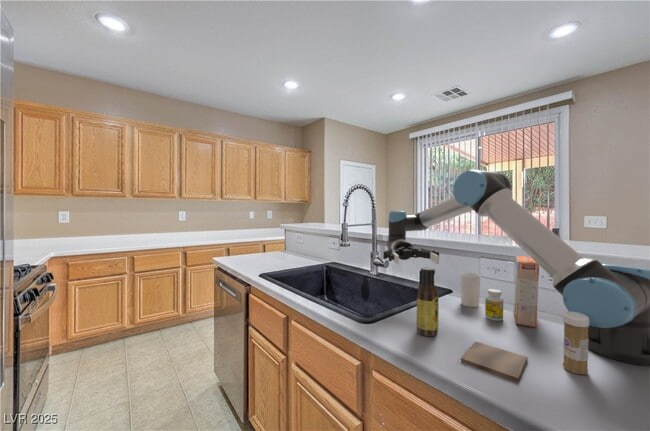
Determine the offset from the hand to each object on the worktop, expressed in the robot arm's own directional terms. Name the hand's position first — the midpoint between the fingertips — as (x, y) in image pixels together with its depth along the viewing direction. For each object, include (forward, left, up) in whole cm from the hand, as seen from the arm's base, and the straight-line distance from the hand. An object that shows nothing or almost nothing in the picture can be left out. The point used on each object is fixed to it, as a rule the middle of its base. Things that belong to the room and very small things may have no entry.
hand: (417, 259), depth 96 cm
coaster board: (-26, +11, -21) cm, 35 cm away
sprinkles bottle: (-41, +2, -21) cm, 46 cm away
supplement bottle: (-19, -20, -21) cm, 34 cm away
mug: (-9, -30, -21) cm, 37 cm away
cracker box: (-27, -26, -21) cm, 43 cm away
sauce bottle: (-7, +7, -21) cm, 23 cm away
